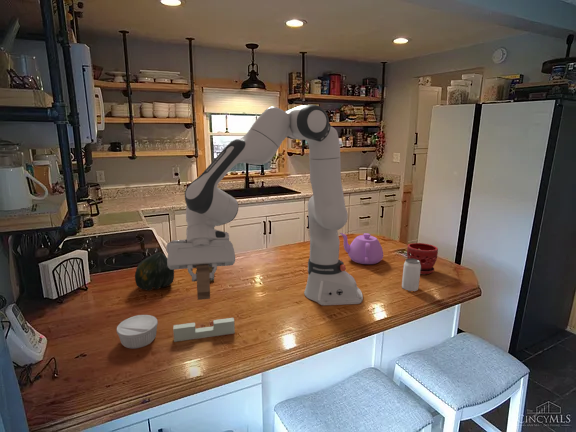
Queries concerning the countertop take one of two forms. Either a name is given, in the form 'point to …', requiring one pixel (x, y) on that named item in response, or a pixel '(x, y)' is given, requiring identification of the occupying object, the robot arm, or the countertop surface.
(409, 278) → the can
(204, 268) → the walnut block
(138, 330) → the ramekin
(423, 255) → the plant pot
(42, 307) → the countertop surface
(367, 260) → the teapot
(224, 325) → the slotted rail
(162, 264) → the squash
